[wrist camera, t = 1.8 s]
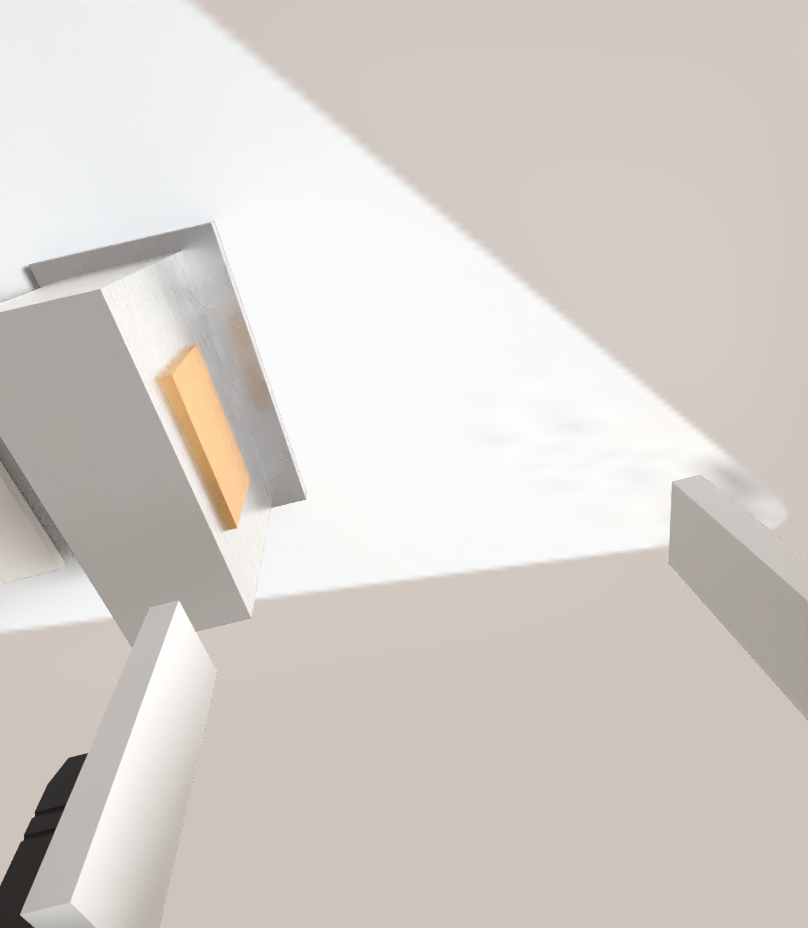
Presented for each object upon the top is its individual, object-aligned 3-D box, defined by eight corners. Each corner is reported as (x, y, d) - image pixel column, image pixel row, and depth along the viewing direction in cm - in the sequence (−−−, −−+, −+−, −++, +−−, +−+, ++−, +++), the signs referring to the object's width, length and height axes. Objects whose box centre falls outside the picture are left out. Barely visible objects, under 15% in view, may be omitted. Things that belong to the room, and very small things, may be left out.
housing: (37, 262, 30) (-144, 312, 18) (214, 221, 30) (143, 246, 19) (169, 525, 38) (101, 670, 27) (306, 492, 39) (297, 623, 27)
